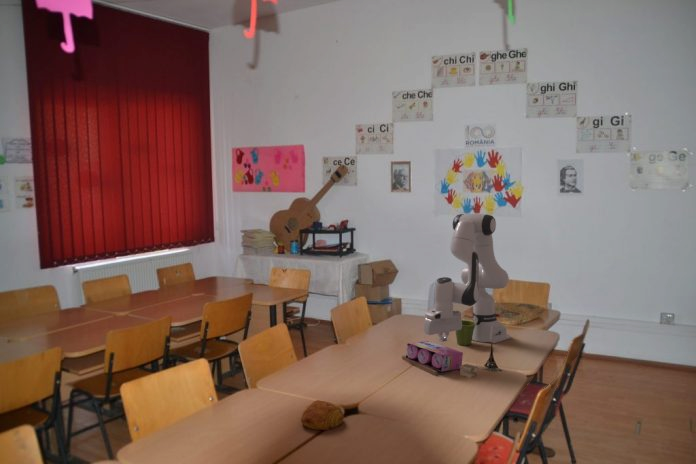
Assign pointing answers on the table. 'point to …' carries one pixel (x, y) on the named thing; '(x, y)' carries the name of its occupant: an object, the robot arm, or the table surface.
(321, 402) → the croissant
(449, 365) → the gum box
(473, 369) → the beech block
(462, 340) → the plant pot
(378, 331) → the table surface
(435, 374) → the podium
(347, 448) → the table surface
